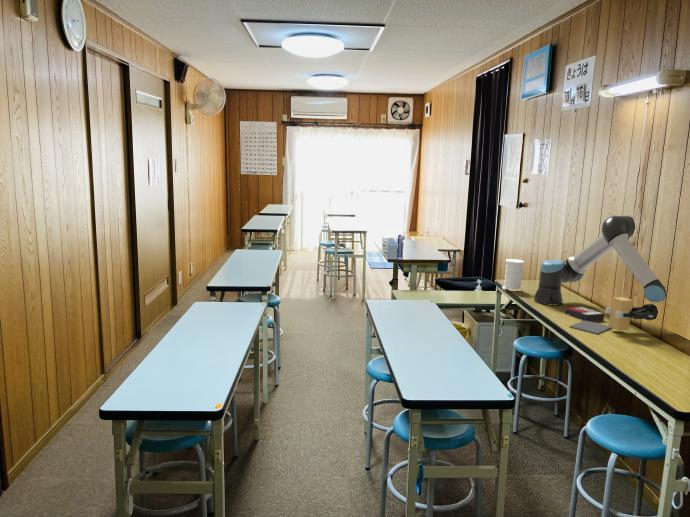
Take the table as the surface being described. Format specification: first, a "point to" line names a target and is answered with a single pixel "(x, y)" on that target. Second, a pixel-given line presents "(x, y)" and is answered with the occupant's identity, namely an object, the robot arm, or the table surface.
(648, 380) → the table surface
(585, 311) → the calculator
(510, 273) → the decorative container
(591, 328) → the charcoal mat
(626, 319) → the ochre block
